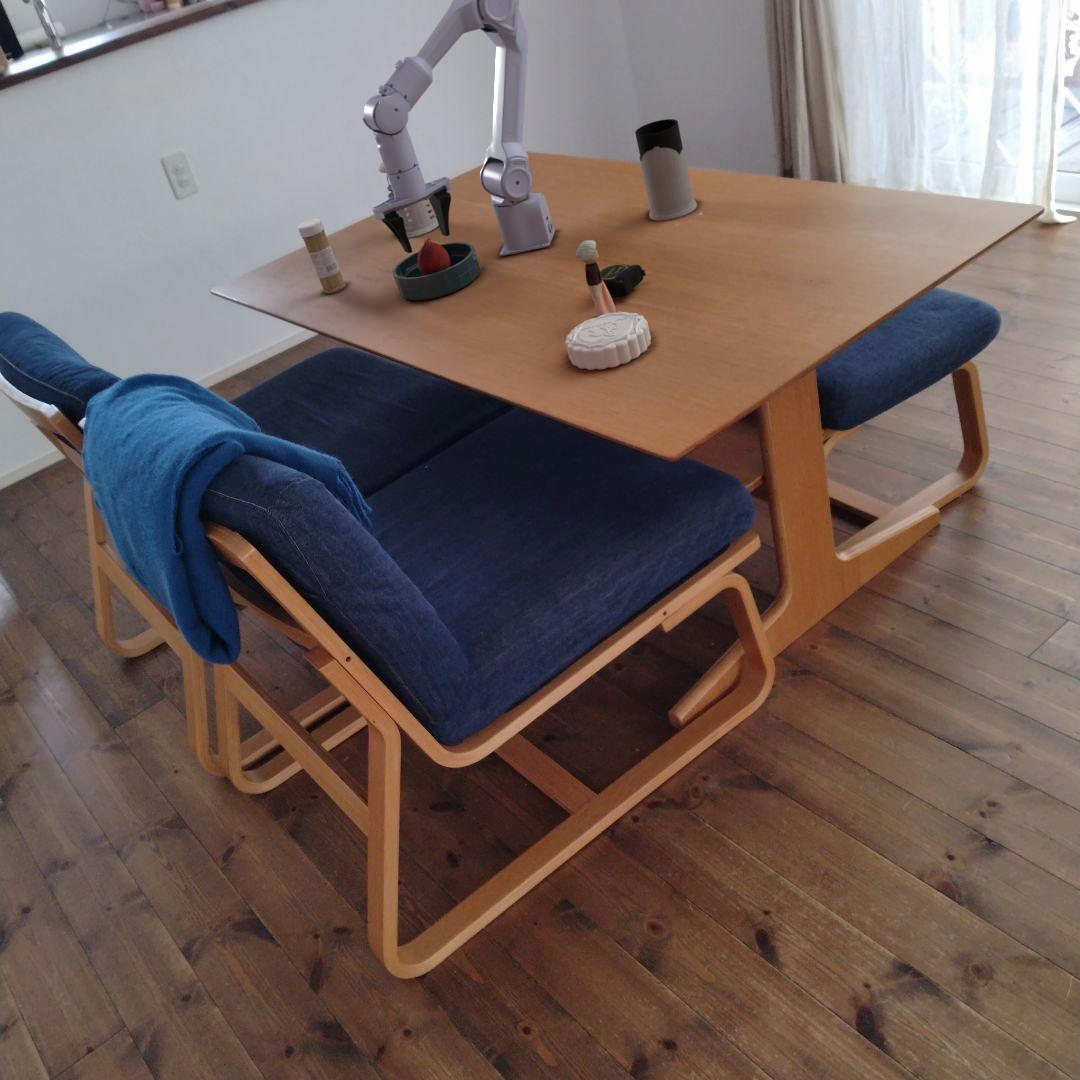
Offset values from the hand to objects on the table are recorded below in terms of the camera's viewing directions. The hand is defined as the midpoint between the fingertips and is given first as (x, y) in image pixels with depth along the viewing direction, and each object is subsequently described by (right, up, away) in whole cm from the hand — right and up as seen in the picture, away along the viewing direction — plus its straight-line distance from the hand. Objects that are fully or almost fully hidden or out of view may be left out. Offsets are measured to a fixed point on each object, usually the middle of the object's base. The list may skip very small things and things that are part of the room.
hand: (427, 243), depth 196 cm
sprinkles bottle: (-20, -4, +17) cm, 26 cm away
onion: (+2, -6, +4) cm, 7 cm away
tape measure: (+33, -14, -22) cm, 42 cm away
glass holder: (+45, +8, +5) cm, 46 cm away
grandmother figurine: (+30, -19, -28) cm, 45 cm away
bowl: (+2, -6, +4) cm, 8 cm away
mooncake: (+30, -26, -37) cm, 54 cm away
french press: (-6, +13, +36) cm, 38 cm away
